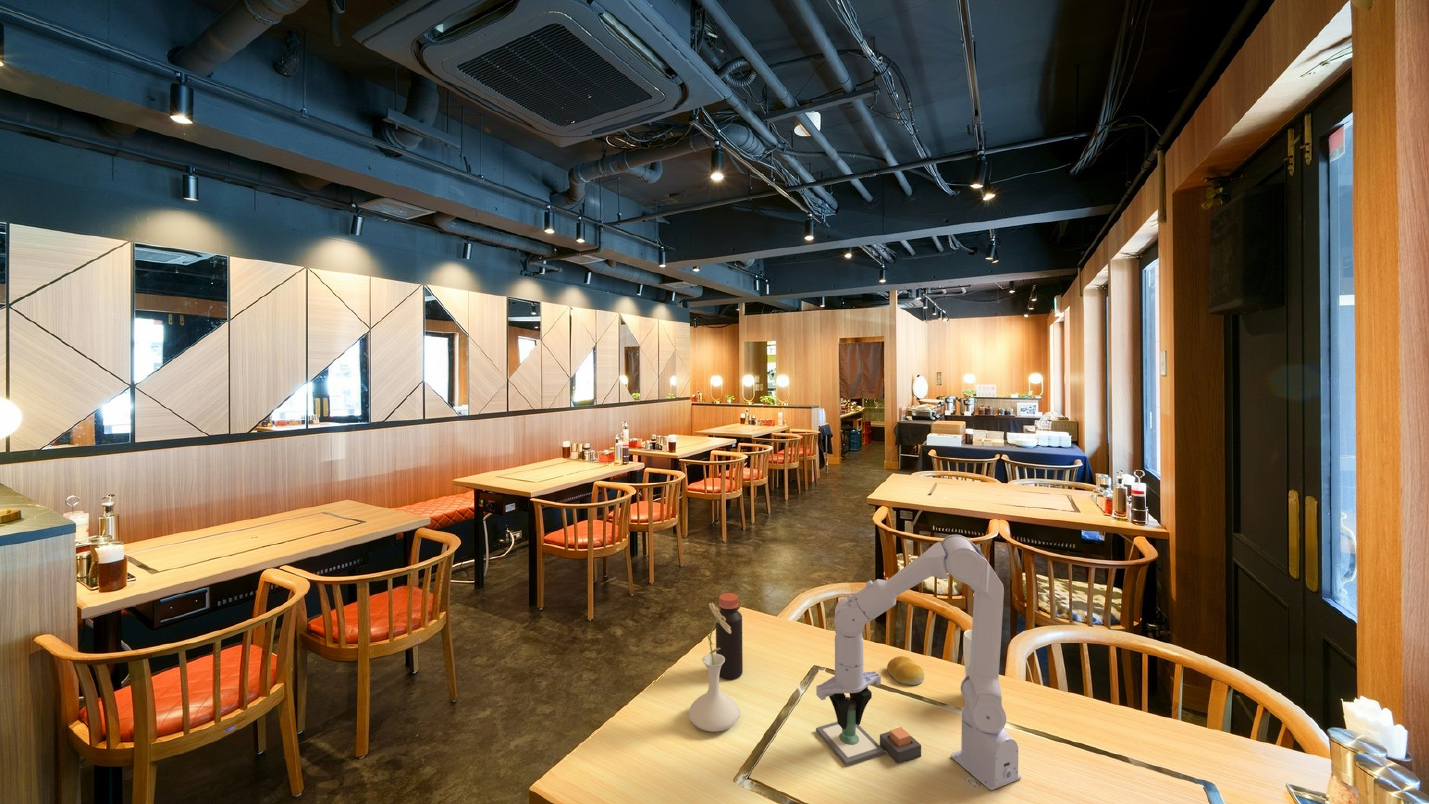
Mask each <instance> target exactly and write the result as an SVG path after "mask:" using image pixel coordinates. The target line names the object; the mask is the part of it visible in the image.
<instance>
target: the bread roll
mask: <svg viewBox="0 0 1429 804" xmlns="http://www.w3.org/2000/svg"><path fill="white" fill-rule="evenodd" d="M886 668H887V671H888V673H889V674H890V676H891V677H893V678H894V679H895V681H896V682H898V683H900V684H903V685H908V686H917V685H919V684H921V683H923V682H924V679H925V672H924V669H923V668H922V666H920V665H918V664H917V663H916V662H915V661H914V660H912V659H911V658H910V657H907V656H904V655H901V656H900V655H899V656H895V657H894V658H892V659H890V661H888V663H887V665H886Z"/></svg>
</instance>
